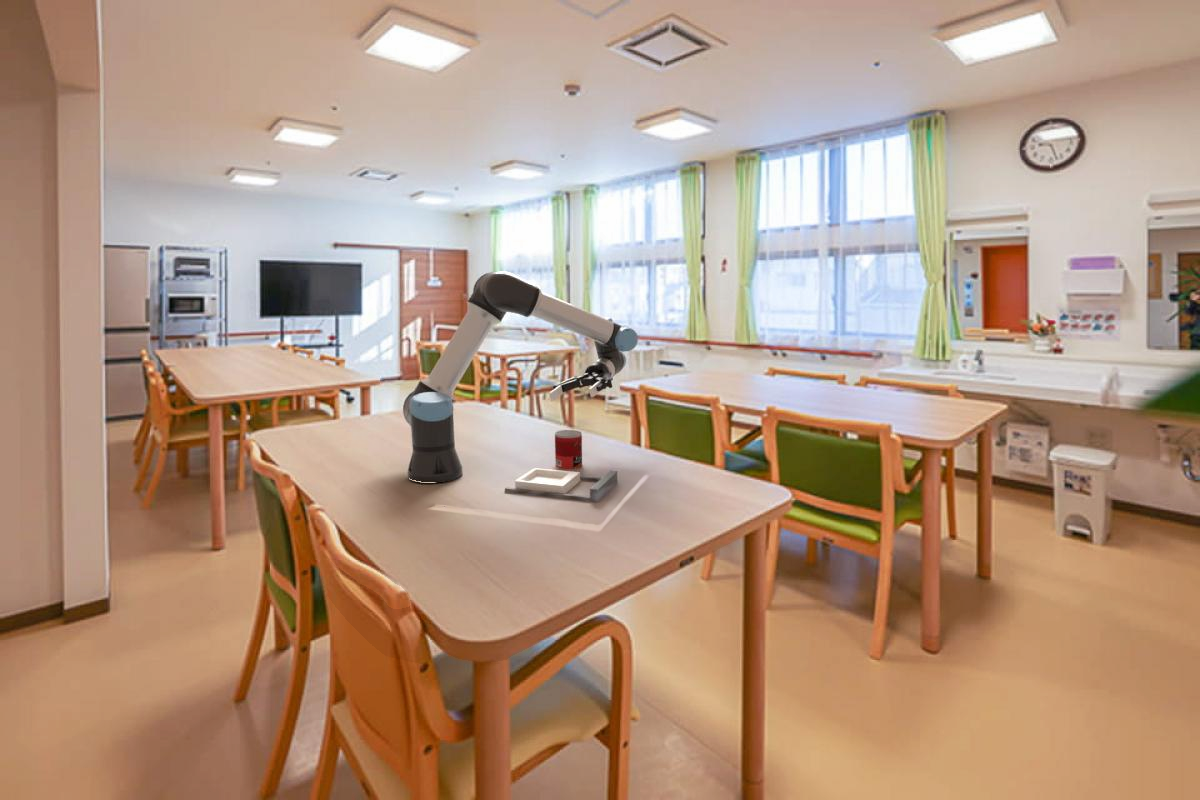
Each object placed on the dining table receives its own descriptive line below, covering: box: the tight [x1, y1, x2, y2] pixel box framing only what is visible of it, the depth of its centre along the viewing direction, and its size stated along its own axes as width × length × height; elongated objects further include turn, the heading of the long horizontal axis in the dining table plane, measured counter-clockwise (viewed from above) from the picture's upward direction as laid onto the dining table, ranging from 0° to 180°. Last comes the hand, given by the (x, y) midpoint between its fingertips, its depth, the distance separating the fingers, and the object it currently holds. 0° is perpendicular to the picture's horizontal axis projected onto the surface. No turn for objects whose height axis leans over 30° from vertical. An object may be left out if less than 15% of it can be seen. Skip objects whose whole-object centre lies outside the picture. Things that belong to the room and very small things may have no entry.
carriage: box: [514, 467, 581, 494], centre depth 162 cm, size 14×12×2 cm
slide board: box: [504, 470, 618, 503], centre depth 160 cm, size 27×16×4 cm, turn 71°
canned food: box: [554, 429, 583, 470], centre depth 180 cm, size 8×8×11 cm
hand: (570, 395), depth 180 cm, fingers open, 13 cm apart
